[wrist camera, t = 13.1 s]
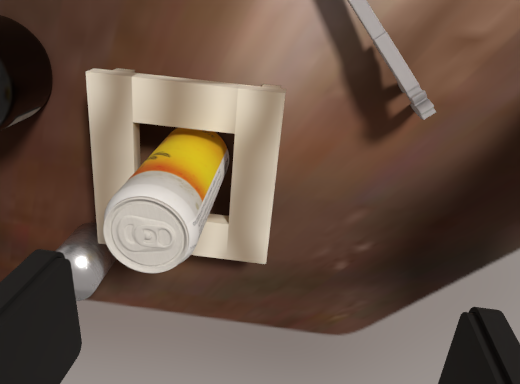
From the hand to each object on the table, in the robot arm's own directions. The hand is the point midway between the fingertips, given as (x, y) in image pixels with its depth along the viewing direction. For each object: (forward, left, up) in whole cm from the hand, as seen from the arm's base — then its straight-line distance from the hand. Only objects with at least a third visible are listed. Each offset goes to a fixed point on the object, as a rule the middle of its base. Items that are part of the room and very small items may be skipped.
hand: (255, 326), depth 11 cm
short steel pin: (+18, +18, -30) cm, 39 cm away
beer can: (+8, +7, -30) cm, 32 cm away
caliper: (-4, -7, -30) cm, 31 cm away
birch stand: (+8, +7, -30) cm, 31 cm away
